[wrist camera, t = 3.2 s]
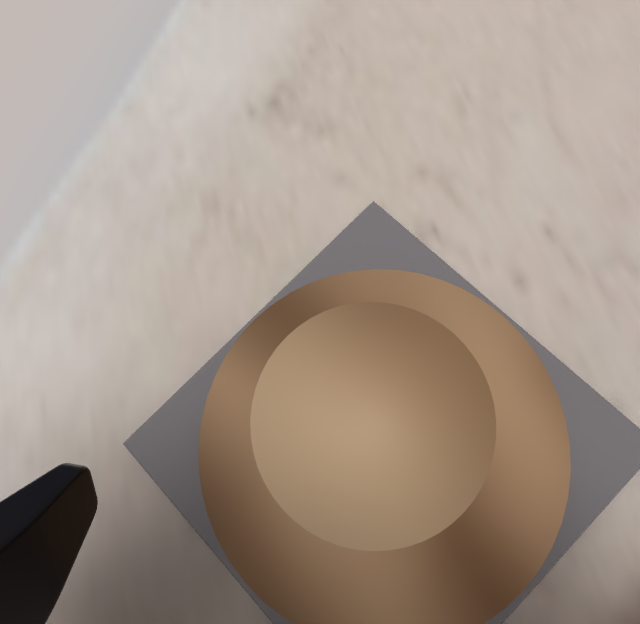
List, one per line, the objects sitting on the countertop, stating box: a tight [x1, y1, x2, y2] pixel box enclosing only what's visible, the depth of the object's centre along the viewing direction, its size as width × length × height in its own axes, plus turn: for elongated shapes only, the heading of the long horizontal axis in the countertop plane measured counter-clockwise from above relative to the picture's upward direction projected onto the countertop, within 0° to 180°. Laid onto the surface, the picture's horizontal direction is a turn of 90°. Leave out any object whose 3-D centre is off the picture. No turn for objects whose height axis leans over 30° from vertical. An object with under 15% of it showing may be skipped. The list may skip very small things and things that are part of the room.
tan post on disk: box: [199, 269, 571, 624], centre depth 13 cm, size 11×11×11 cm
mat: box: [123, 201, 640, 624], centre depth 18 cm, size 12×12×1 cm
